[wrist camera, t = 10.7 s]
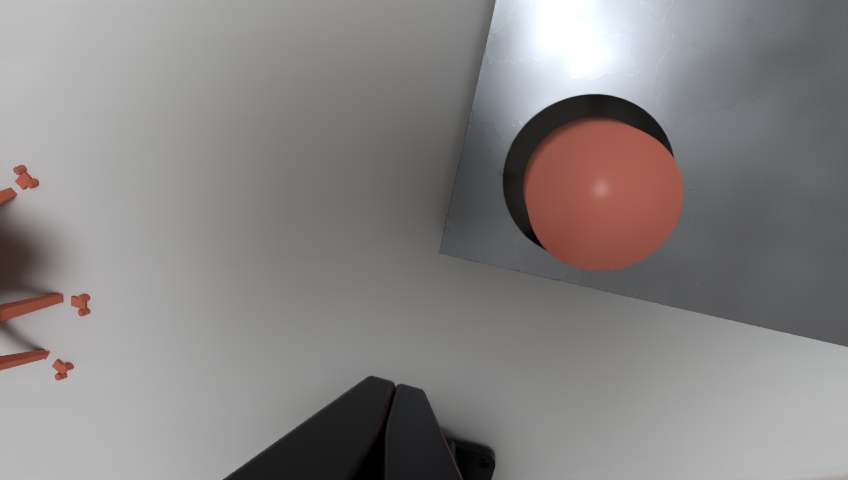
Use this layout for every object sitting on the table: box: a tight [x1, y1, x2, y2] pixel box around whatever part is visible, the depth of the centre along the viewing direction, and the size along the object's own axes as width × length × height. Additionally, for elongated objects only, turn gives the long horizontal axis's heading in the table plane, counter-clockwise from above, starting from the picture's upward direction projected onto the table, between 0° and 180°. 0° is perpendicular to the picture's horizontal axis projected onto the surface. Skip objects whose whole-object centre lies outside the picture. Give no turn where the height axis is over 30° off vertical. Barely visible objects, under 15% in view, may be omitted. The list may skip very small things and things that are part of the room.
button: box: [523, 117, 683, 271], centre depth 15 cm, size 4×4×2 cm
